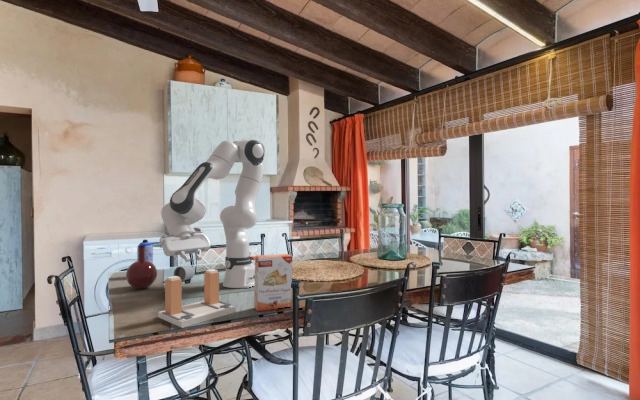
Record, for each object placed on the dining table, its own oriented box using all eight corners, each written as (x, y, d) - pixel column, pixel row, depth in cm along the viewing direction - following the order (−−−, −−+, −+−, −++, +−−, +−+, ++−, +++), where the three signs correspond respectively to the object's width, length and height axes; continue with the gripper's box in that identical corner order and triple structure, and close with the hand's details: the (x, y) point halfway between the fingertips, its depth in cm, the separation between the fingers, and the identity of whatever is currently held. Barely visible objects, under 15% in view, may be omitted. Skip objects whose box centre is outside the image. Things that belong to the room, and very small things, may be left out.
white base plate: (210, 303, 149) (210, 296, 149) (235, 312, 139) (235, 304, 139) (158, 317, 132) (158, 309, 132) (182, 327, 122) (182, 318, 122)
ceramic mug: (196, 278, 193) (195, 264, 193) (185, 282, 185) (185, 267, 185) (179, 277, 196) (179, 263, 196) (168, 280, 188) (168, 266, 188)
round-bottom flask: (137, 293, 163) (137, 248, 163) (119, 289, 170) (119, 246, 169) (163, 287, 175) (163, 245, 174) (145, 283, 181) (145, 243, 181)
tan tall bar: (212, 300, 147) (213, 268, 146) (218, 302, 144) (219, 270, 144) (204, 302, 143) (204, 270, 143) (210, 304, 141) (210, 271, 141)
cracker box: (257, 312, 139) (258, 257, 139) (253, 307, 145) (254, 255, 144) (292, 308, 145) (292, 255, 145) (287, 303, 150) (288, 253, 150)
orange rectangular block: (175, 310, 134) (175, 275, 134) (181, 312, 132) (181, 277, 131) (165, 312, 131) (165, 277, 131) (170, 315, 128) (171, 278, 128)
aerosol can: (140, 275, 199) (140, 238, 198) (155, 275, 200) (155, 238, 199) (134, 278, 191) (134, 240, 191) (150, 278, 192) (150, 240, 192)
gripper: (160, 231, 148) (173, 258, 142) (205, 228, 164) (218, 252, 158) (155, 241, 151) (167, 268, 145) (199, 237, 167) (211, 261, 161)
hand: (194, 260), depth 151 cm, fingers open, 4 cm apart
